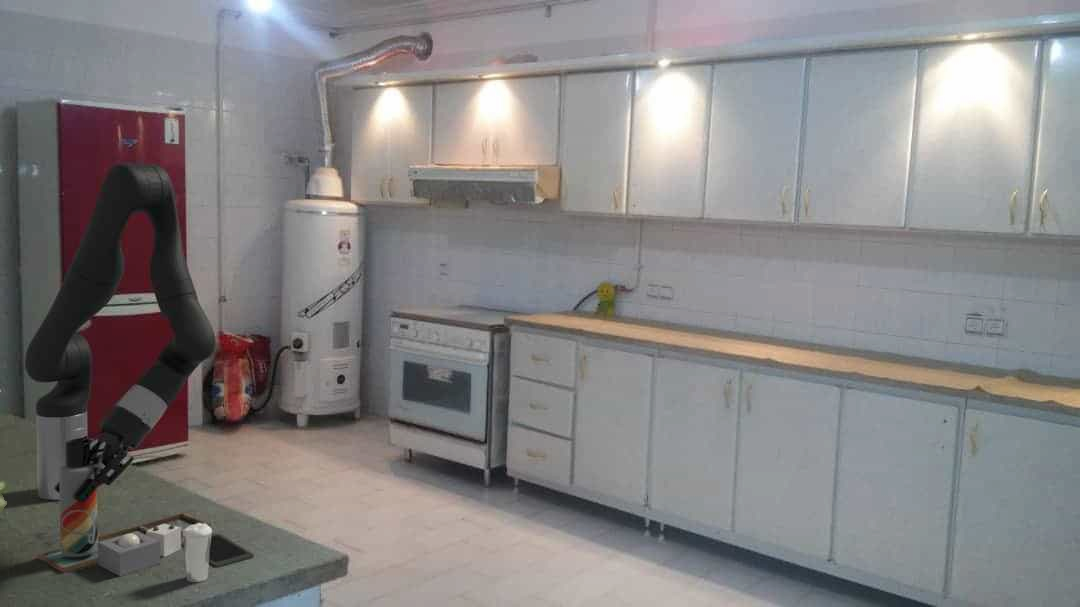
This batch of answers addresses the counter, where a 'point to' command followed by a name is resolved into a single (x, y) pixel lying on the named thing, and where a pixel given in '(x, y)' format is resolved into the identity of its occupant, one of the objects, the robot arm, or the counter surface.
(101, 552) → the button box
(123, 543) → the dome
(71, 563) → the track
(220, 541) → the cell phone
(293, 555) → the counter surface
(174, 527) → the die
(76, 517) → the lotion bottle
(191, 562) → the milkshake
